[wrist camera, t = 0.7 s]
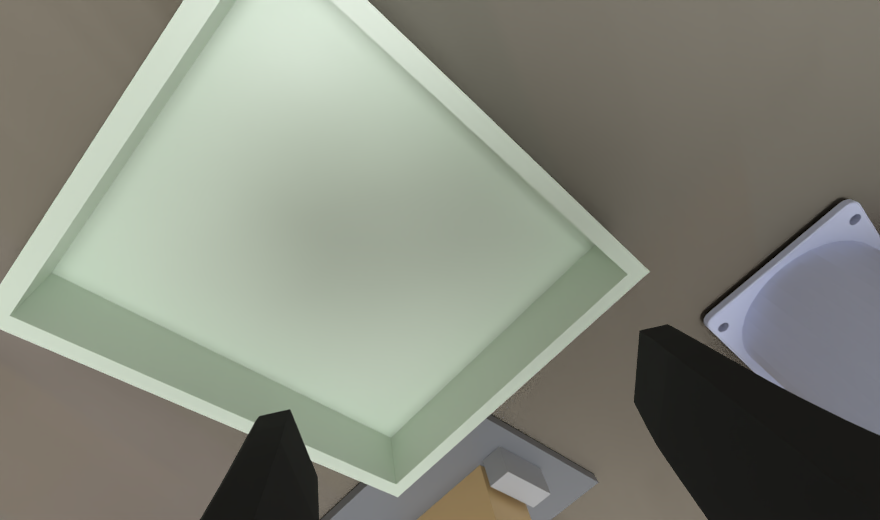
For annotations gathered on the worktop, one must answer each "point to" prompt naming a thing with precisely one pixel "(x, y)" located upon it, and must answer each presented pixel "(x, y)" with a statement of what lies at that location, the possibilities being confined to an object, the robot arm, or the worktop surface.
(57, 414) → the worktop surface
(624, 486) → the worktop surface
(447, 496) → the block
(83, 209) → the parts tray
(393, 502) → the fuse board
